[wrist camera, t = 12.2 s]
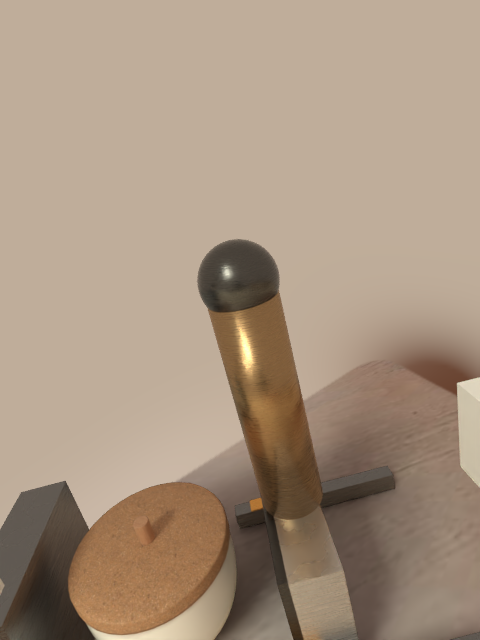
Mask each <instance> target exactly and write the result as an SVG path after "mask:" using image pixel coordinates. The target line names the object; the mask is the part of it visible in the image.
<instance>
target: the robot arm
mask: <svg viewBox="0 0 480 640" xmlns="http://www.w3.org/2000/svg"><path fill="white" fill-rule="evenodd" d="M457 397H458V422H459V448H460V467H461V468H462V469H463V470H464V471H465V472H466V473H467V474H468V476H469V477H470V478H471V479H472V480H473V481H474V482H475V483H476V484H477V486H478V487H479V488H480V377H479V378H475V379H471V380H467V381H463V382H459V383H457ZM4 586H5V585H4V584H3V582H2V580H1V579H0V595H1V592H2V590H3V588H4Z"/></svg>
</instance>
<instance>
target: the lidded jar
mask: <svg viewBox="0 0 480 640" xmlns="http://www.w3.org/2000/svg"><path fill="white" fill-rule="evenodd" d="M236 581H237V566H236V557H235V550H234V545H233V541H232V537H231V534H230V530H229V523H228V519H227V516H226V513H225V510H224V507H223V506H222V504H221V502H220V500H219V499H218V498H217V497H216V496H215V495H214V494H213V493H212V492H210V491H209V490H207V489H205V488H203V487H201V486H198V485H195V484H191V483H182V482H174V483H166V484H160V485H156V486H153V487H149V488H147V489H144V490H142V491H139V492H137V493H135V494H133V495H131V496H129V497H127V498H126V499H124V500H122V501H121V502H119V503H118V504H117V505H115V506H114V507H112V508H111V509H110V510H108V511H107V512H106V513H105V514H104V515H103V516H102V517H101V518H100V519H99V520H98V521H97V522H96V523H95V524H94V525H93V526H92V527H91V528H90V530H89V531H88V532H87V534H86V535H85V536H84V538H83V539H82V541H81V542H80V544H79V546H78V548H77V550H76V552H75V554H74V557H73V559H72V562H71V565H70V569H69V575H68V591H69V595H70V599H71V602H72V604H73V605H74V607H75V609H76V611H77V613H78V614H79V616H80V617H81V618H82V619H83V621H84V622H85V623H86V624H87V626H88V628H89V629H90V631H91V633H92V634H93V636H94V637H95V639H96V640H214V639H215V638H216V636H217V635H218V633H219V632H220V631H221V629H222V627H223V625H224V623H225V621H226V620H227V618H228V615H229V613H230V610H231V607H232V604H233V600H234V595H235V590H236Z"/></svg>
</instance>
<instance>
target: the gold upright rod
mask: <svg viewBox="0 0 480 640" xmlns="http://www.w3.org/2000/svg"><path fill="white" fill-rule="evenodd" d="M197 282H198V289H199V293H200V296H201V298H202V300H203V302H204V303H205V305H206V306H207V308H208V311H209V315H210V318H211V322H212V325H213V329H214V332H215V336H216V339H217V343H218V346H219V350H220V353H221V357H222V360H223V364H224V367H225V371H226V374H227V378H228V381H229V385H230V388H231V392H232V395H233V399H234V402H235V406H236V409H237V413H238V416H239V420H240V423H241V427H242V430H243V434H244V438H245V441H246V445H247V448H248V452H249V455H250V459H251V462H252V466H253V469H254V473H255V476H256V480H257V483H258V487H259V490H260V494H261V499H262V505H263V510H264V516H265V521H266V526H267V532H268V537H269V542H270V548H271V553H272V558H273V564H274V569H275V574H276V580H277V585H278V589H279V592H280V595H281V599H282V602H283V605H284V609H285V612H286V616H287V619H288V622H289V626H290V629H291V633H292V636H293V639H294V640H358V635H357V631H356V626H355V621H354V617H353V612H352V607H351V603H350V598H349V593H348V589H347V584H346V579H345V575H344V570H343V567H342V565H341V562H340V559H339V556H338V553H337V551H336V548H335V545H334V542H333V540H332V537H331V534H330V531H329V528H328V526H327V523H326V520H325V517H324V515H323V512H322V509H321V506H320V503H321V500H322V497H323V490H322V485H321V481H320V476H319V472H318V467H317V463H316V458H315V453H314V449H313V444H312V440H311V435H310V431H309V426H308V421H307V417H306V412H305V408H304V403H303V399H302V394H301V389H300V385H299V380H298V376H297V372H296V367H295V362H294V358H293V353H292V348H291V344H290V339H289V335H288V330H287V326H286V321H285V316H284V313H283V307H282V303H281V298H280V293H279V272H278V268H277V265H276V263H275V261H274V259H273V258H272V256H271V255H270V254H269V252H267V251H266V250H265V249H264V248H263V247H261V246H260V245H258V244H256V243H254V242H251V241H248V240H241V239H236V240H229V241H225V242H223V243H220V244H219V245H217V246H215V247H214V248H213V249H212V250H211V251H209V253H208V254H207V255H206V256H205V258H204V259H203V261H202V263H201V265H200V268H199V272H198V280H197Z"/></svg>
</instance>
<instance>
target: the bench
mask: <svg viewBox="0 0 480 640" xmlns="http://www.w3.org/2000/svg"><path fill="white" fill-rule="evenodd" d="M321 485H322V490H323V497H322V500H321V503H320V506H321V508H322V507H326V506H329V505H333V504H337V503H341V502H345V501H348V500H352V499H356V498H360V497H364V496H368V495H371V494H375V493H379V492H383V491H387V490H390V489H394V488H395V485H394V478H393V474H392V472H391V471H390V469H389V468H388V466H384V467H380V468H377V469H373V470H369V471H365V472H361V473H358V474H354V475H350V476H346V477H342V478H338V479H335V480H331V481H327V482H323V483H321ZM235 513H236V518H237V521H238V524H239V528H240V529H242V528H245V527H249V526H253V525H257V524H261V523H264V522H266V521H265V516H264V510H263V505H262V499H261V498H258V499H254V500H250V502H247V503H243V504H239V505H235ZM88 531H89V529H88V526H87V524H86V522H85V520H84V518H83V516H82V514H81V512H80V510H79V508H78V506H77V504H76V502H75V500H74V497H73V495H72V493H71V491H70V489H69V487H68V485H67V483H66V481H63V482H59V483H55V484H51V485H48V486H44V487H40V488H36V489H32V490H28V491H25V492H21V494H20V496H19V498H18V499H17V501H16V503H15V505H14V506H13V508H12V510H11V512H10V514H9V515H8V517H7V519H6V521H5V522H4V524H3V526H2V528H1V530H0V579H1V580H2V582H3V584H4V585H5V586H4V588H3V590H2V592H1V595H0V640H95V637H94V636H93V634H92V633H91V631H90V629H89V628H88V626H87V624H86V623H85V622H84V621H83V619H82V618H81V617H80V616H79V614H78V613H77V611H76V609H75V607H74V605H73V604H72V602H71V599H70V595H69V591H68V575H69V569H70V565H71V562H72V559H73V557H74V554H75V552H76V550H77V548H78V546H79V544H80V542H81V541H82V539H83V538H84V536H85V535H86V534H87V532H88ZM452 640H480V632H478V633H474V634H471V635H467V636H463V637H459V638H455V639H452Z"/></svg>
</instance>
